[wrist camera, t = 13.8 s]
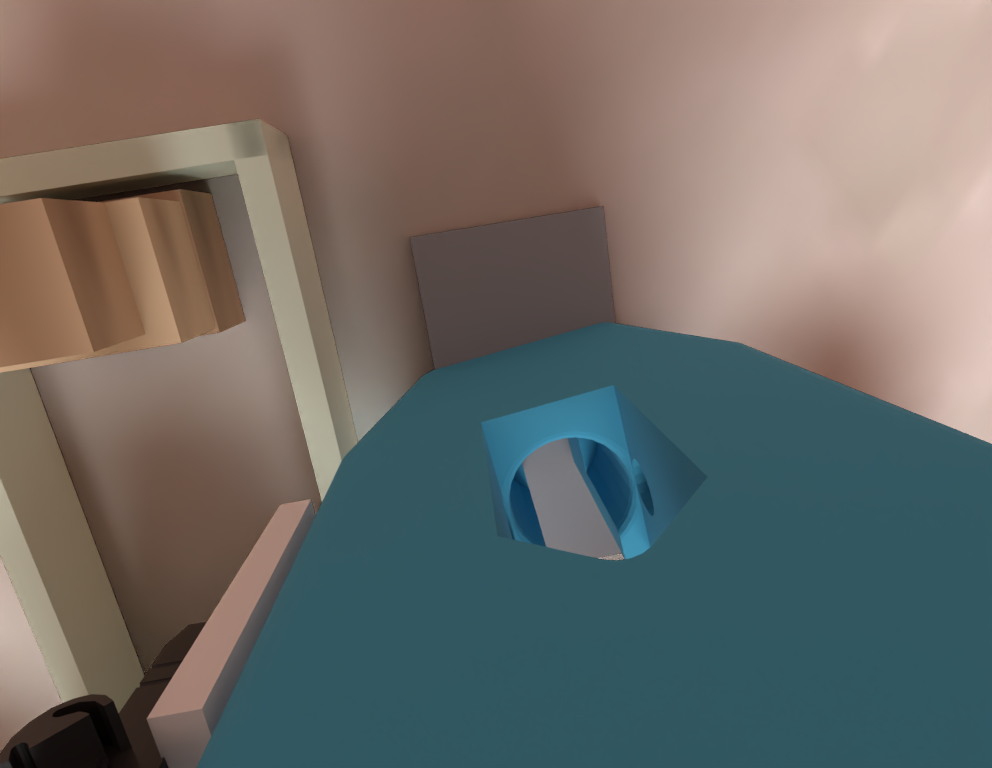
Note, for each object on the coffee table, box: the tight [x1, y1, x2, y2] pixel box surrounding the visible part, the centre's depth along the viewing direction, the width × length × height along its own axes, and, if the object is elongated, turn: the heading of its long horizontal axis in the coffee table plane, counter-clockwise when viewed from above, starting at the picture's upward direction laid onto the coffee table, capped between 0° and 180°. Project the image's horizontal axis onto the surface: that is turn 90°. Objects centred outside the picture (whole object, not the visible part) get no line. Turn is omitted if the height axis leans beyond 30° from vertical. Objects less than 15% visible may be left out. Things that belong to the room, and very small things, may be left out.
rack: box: [0, 119, 358, 713], centre depth 15 cm, size 12×22×16 cm, turn 9°
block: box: [196, 322, 992, 768], centre depth 13 cm, size 12×5×20 cm, turn 105°
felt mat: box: [410, 206, 621, 558], centre depth 23 cm, size 7×14×1 cm, turn 9°
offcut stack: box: [0, 189, 245, 373], centre depth 17 cm, size 6×4×8 cm
